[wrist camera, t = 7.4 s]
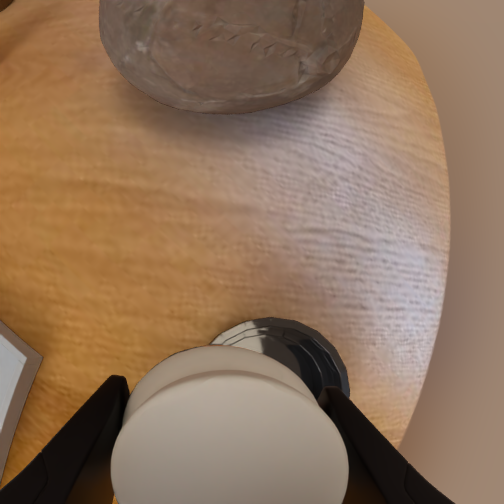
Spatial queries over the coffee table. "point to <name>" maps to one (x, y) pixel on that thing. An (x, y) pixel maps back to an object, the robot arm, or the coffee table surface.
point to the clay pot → (229, 49)
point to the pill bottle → (226, 435)
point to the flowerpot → (4, 4)
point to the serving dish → (13, 384)
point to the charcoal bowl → (291, 350)
